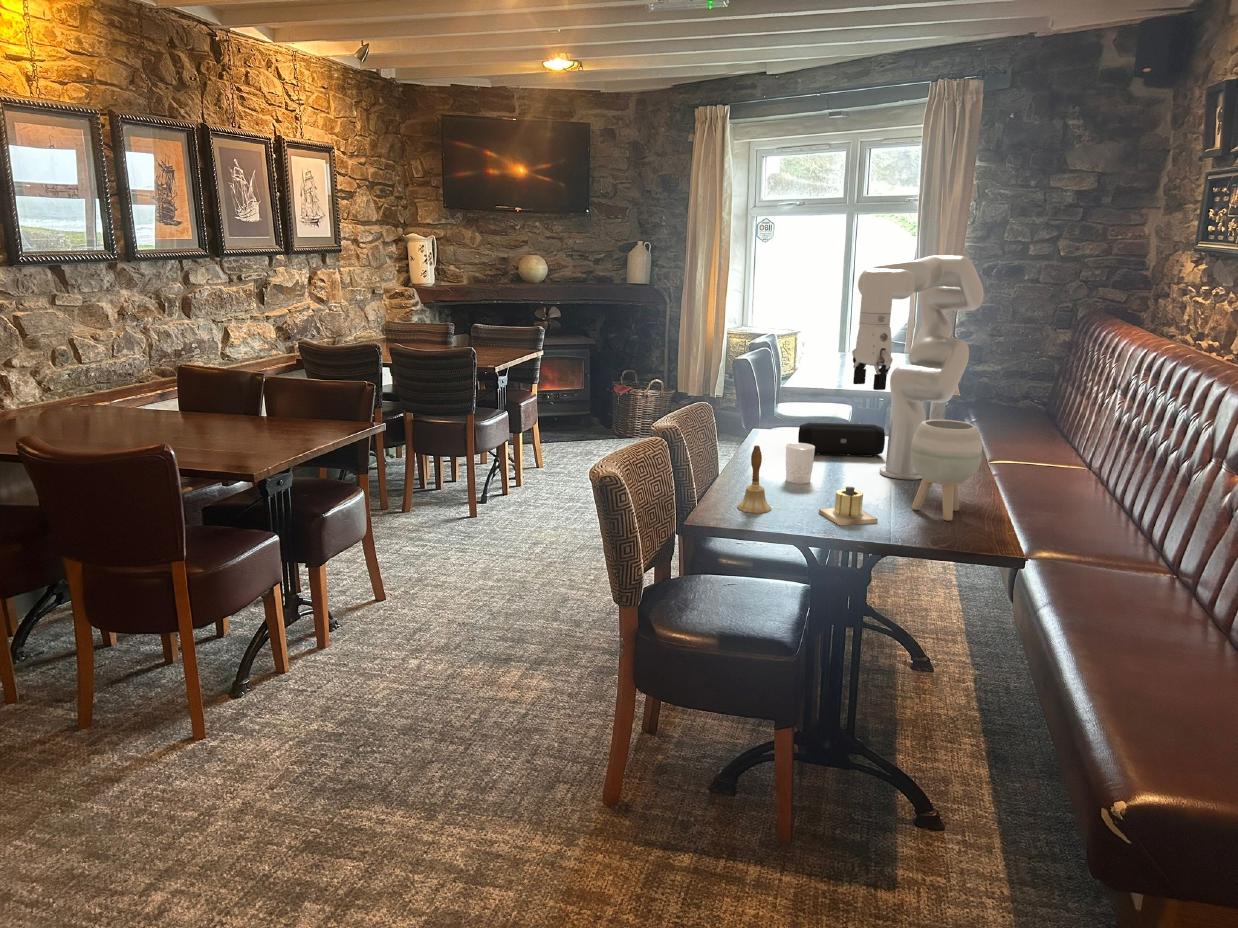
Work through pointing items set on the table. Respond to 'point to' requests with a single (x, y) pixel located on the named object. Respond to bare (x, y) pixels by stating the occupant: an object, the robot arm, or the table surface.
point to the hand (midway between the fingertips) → (868, 386)
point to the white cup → (799, 462)
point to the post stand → (845, 520)
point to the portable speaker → (843, 438)
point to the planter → (945, 459)
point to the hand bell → (755, 488)
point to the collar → (848, 503)
